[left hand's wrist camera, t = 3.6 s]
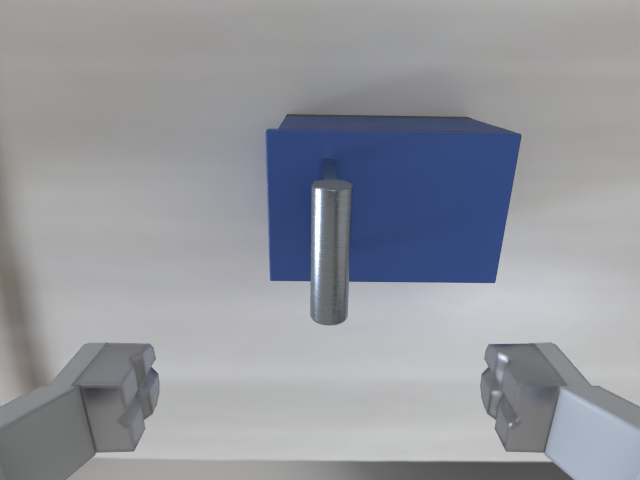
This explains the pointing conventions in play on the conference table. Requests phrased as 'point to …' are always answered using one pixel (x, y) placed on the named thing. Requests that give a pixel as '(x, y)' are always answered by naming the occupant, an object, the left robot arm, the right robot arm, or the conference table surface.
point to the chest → (386, 123)
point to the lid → (385, 208)
